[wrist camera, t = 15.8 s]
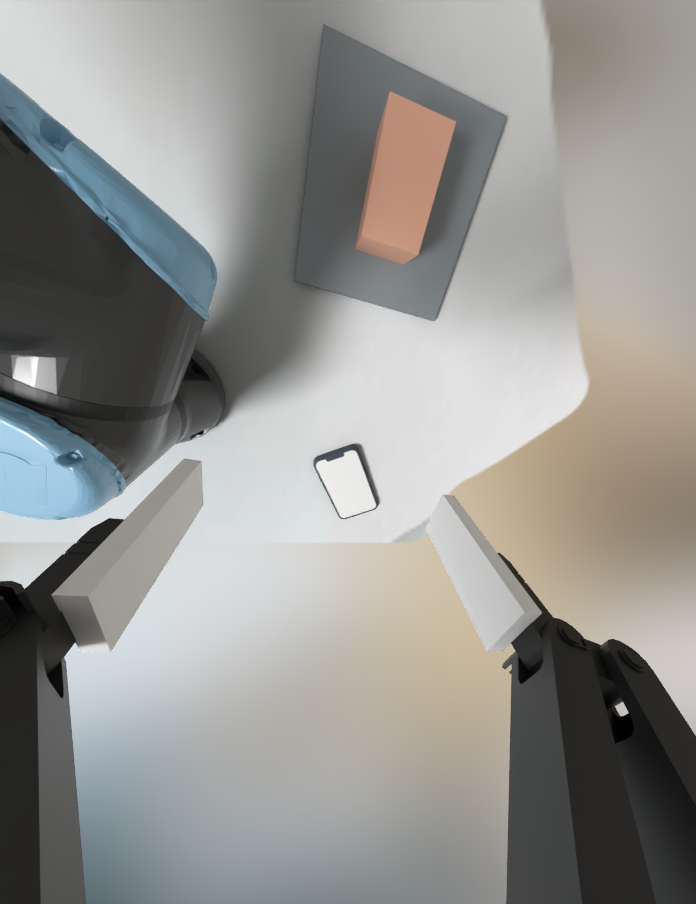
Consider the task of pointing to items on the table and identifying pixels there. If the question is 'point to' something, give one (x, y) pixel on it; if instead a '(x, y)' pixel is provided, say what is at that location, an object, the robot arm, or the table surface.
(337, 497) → the smartphone
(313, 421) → the table surface
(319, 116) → the mat
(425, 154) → the card box
